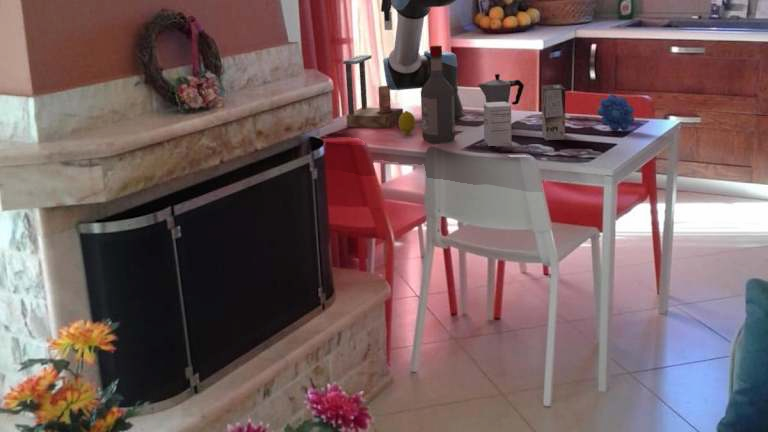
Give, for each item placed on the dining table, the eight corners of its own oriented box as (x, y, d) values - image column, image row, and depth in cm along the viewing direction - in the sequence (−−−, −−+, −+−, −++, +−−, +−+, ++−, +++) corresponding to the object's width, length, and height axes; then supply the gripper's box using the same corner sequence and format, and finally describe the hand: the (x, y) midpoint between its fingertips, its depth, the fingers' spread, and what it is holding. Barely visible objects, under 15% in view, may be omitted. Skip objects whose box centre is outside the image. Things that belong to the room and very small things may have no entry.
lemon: (417, 132, 299) (416, 109, 297) (412, 136, 294) (411, 112, 292) (402, 132, 301) (401, 109, 299) (396, 136, 296) (395, 112, 294)
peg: (393, 122, 318) (391, 85, 314) (388, 124, 314) (387, 87, 310) (382, 121, 319) (380, 85, 315) (378, 124, 316) (376, 87, 312)
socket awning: (403, 119, 321) (400, 55, 314) (389, 127, 309) (385, 61, 302) (362, 118, 327) (358, 55, 320) (347, 126, 315) (342, 61, 308)
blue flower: (595, 133, 285) (596, 96, 281) (597, 129, 291) (598, 92, 287) (633, 134, 281) (634, 96, 278) (634, 129, 287) (635, 92, 284)
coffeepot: (480, 131, 297) (479, 77, 291) (476, 125, 306) (475, 73, 300) (526, 128, 297) (526, 74, 292) (521, 122, 306) (521, 70, 301)
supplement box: (483, 142, 282) (483, 102, 278) (506, 140, 282) (506, 101, 278) (488, 147, 275) (487, 106, 271) (512, 145, 275) (511, 105, 271)
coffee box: (565, 139, 279) (566, 88, 274) (545, 140, 279) (545, 89, 275) (560, 133, 288) (561, 83, 283) (541, 134, 288) (541, 84, 283)
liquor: (432, 144, 282) (429, 49, 273) (420, 139, 290) (416, 46, 281) (458, 140, 285) (455, 46, 276) (444, 135, 293) (442, 43, 284)
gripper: (394, -34, 336) (397, 24, 342) (369, -30, 314) (373, 31, 320) (413, -34, 333) (415, 23, 340) (389, -30, 311) (392, 31, 318)
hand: (395, 27), depth 330 cm, fingers open, 13 cm apart
